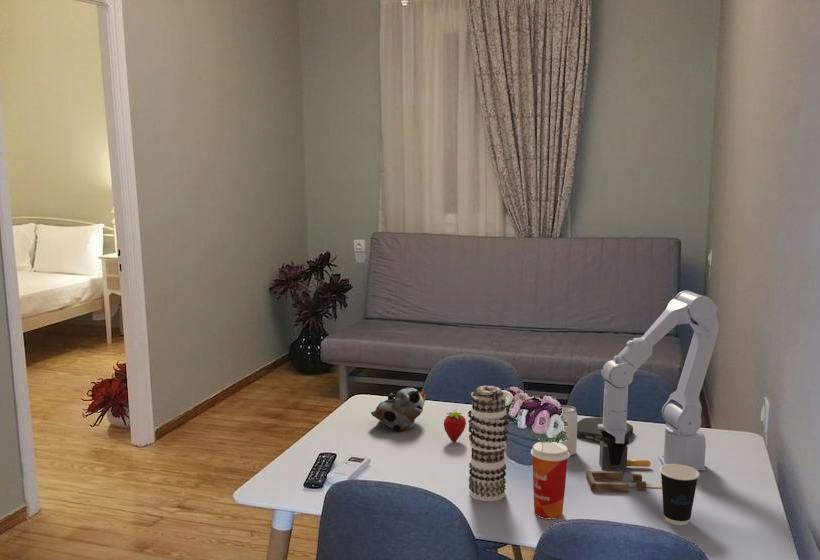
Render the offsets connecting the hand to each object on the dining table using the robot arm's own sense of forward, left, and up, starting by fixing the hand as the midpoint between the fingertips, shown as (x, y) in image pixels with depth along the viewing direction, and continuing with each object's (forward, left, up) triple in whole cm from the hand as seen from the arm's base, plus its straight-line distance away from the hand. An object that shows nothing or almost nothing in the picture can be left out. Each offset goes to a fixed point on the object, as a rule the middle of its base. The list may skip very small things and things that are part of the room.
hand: (612, 460), depth 185 cm
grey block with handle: (-3, 0, -2) cm, 4 cm away
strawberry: (+40, -14, -2) cm, 42 cm away
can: (+11, -9, -2) cm, 14 cm away
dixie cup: (-8, +28, -2) cm, 29 cm away
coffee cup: (+19, +27, -2) cm, 33 cm away
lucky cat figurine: (+56, -27, -2) cm, 63 cm away
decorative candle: (+32, +18, -2) cm, 37 cm away
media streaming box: (-2, -24, -2) cm, 24 cm away
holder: (-1, +11, -2) cm, 11 cm away
